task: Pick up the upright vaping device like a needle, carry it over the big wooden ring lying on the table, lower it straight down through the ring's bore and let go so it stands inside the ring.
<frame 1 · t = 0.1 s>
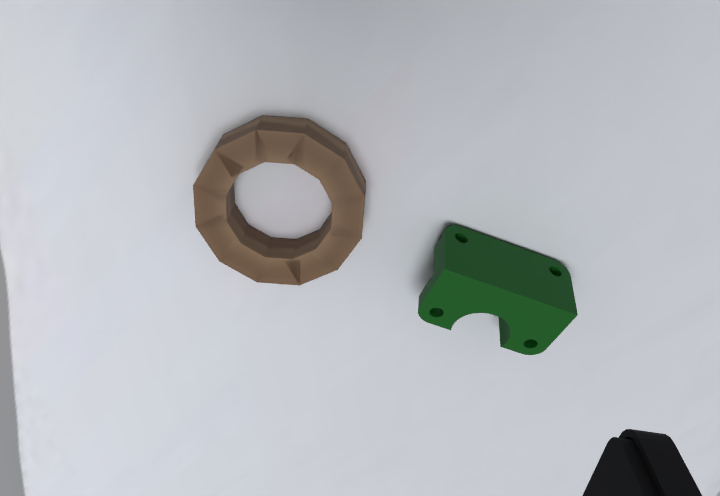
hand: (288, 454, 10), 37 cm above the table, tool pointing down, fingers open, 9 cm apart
wooden ring: (284, 194, 48), on the table
clamp: (487, 273, 52), on the table
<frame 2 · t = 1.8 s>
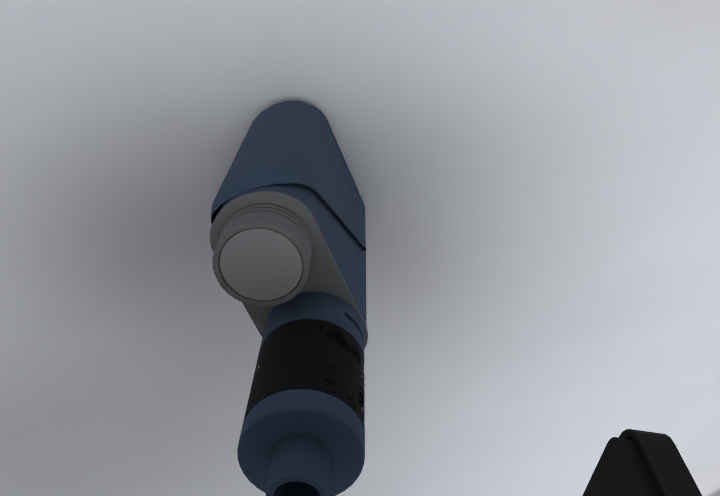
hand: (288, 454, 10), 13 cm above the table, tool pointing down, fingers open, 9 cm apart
vaping device: (311, 169, 21), on the table
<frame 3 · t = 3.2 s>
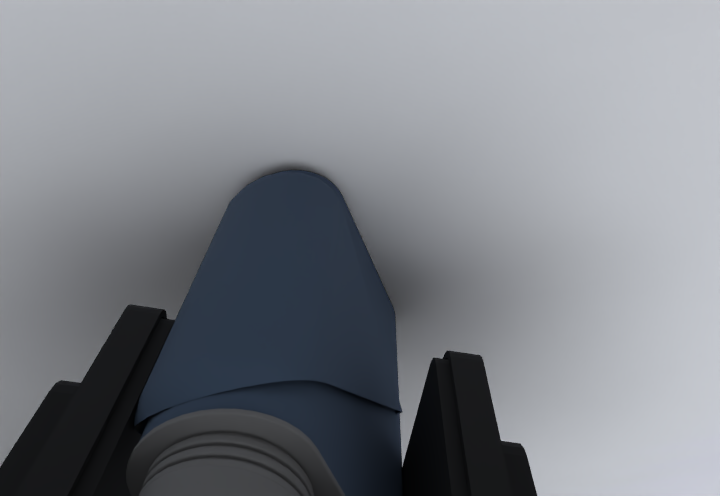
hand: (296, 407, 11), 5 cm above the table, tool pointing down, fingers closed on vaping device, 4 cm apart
vaping device: (319, 261, 15), on the table, touching gripper
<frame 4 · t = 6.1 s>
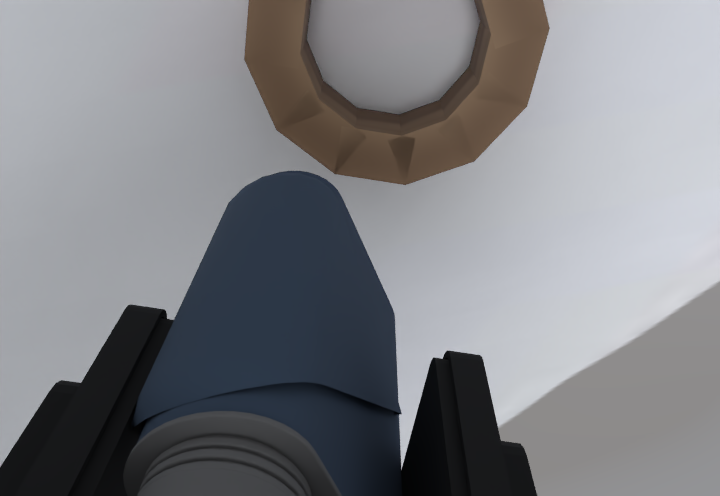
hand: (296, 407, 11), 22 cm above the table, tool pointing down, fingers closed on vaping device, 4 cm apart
wooden ring: (392, 30, 29), on the table
vaping device: (318, 261, 15), point 17 cm above the table, touching gripper
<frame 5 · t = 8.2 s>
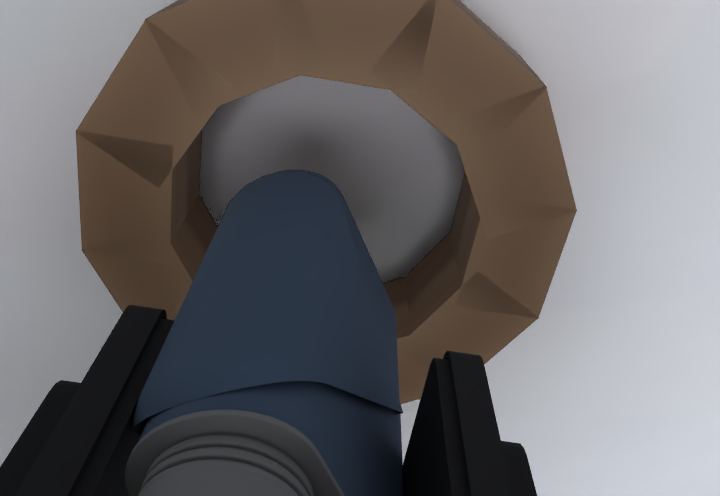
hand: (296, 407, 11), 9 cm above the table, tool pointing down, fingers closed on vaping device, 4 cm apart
wooden ring: (330, 182, 19), on the table
vaping device: (319, 261, 15), point 5 cm above the table, touching gripper
when the fingers open (5 cm above the table, at t = 9.2 s): vaping device stays where it is, resting in wooden ring.
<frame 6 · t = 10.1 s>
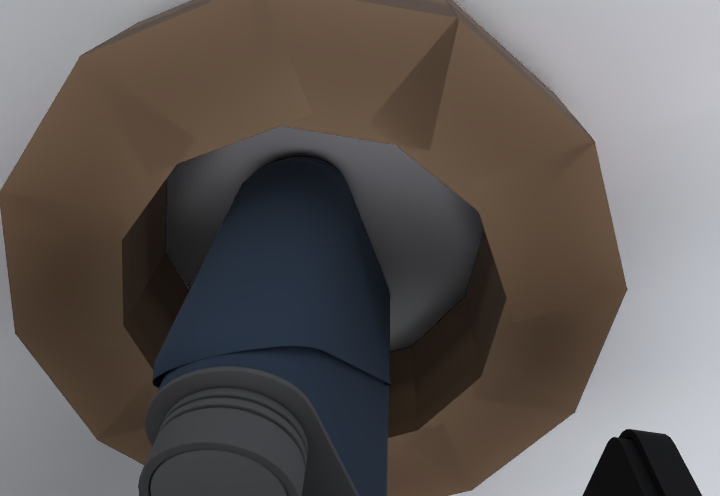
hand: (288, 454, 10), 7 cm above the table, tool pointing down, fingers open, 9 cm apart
wooden ring: (322, 240, 16), on the table
vaping device: (322, 242, 16), resting in wooden ring
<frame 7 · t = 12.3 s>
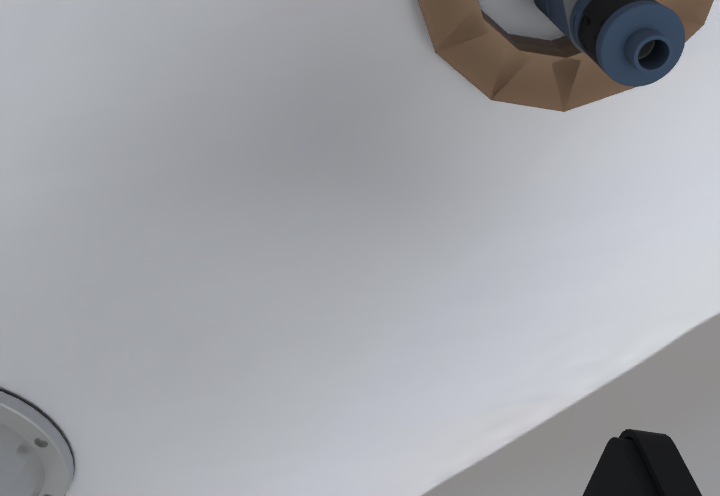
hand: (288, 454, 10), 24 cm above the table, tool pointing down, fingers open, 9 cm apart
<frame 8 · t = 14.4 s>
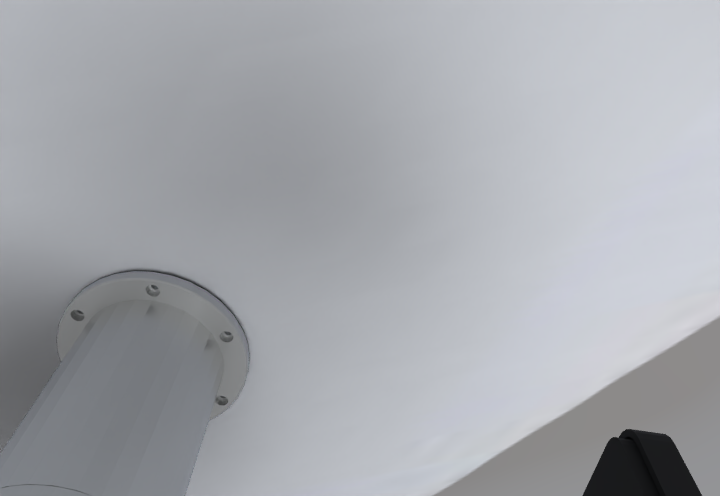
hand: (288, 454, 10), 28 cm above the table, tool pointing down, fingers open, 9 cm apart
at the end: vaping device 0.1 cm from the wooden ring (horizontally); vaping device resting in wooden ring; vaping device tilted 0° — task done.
